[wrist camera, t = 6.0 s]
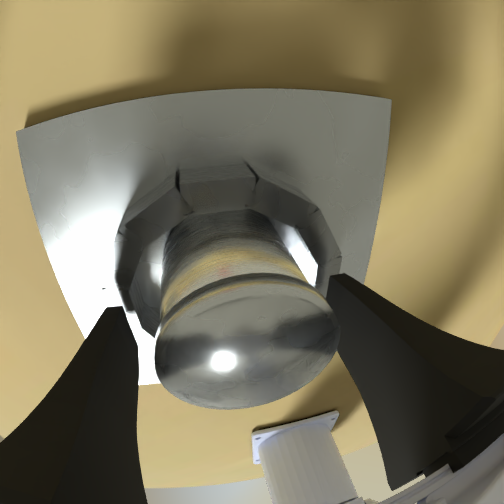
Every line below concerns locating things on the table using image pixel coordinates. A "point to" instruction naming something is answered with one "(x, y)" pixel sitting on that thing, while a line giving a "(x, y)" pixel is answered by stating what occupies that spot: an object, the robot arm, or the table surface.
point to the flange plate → (202, 188)
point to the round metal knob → (237, 314)
